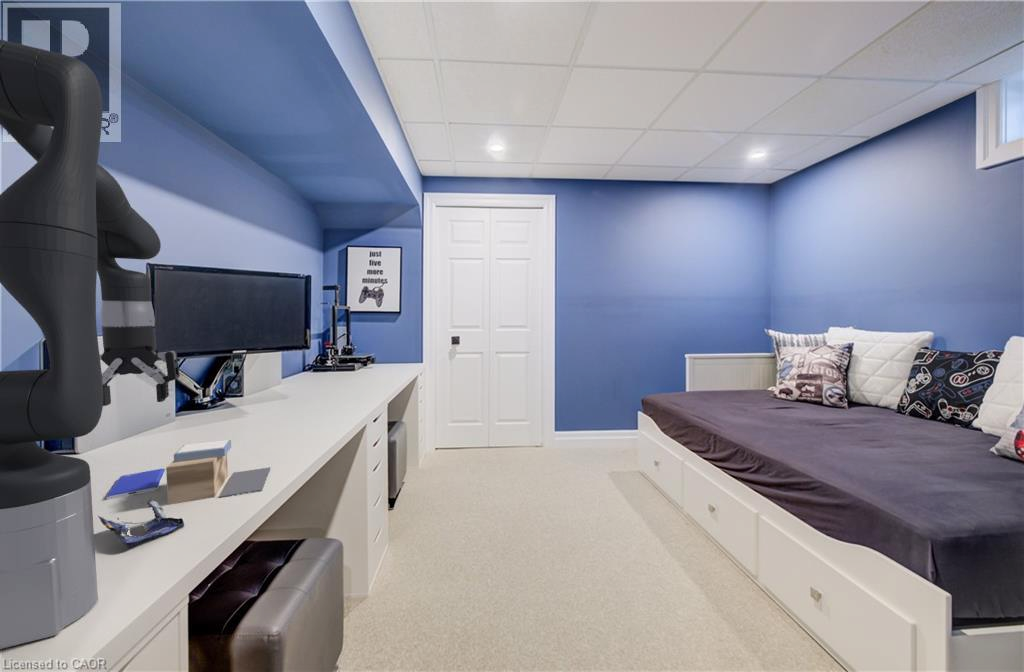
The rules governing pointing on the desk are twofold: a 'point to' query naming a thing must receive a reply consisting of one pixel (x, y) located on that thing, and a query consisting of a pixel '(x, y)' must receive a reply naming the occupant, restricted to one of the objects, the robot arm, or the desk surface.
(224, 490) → the rubber mat
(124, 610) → the desk surface
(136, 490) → the hard drive
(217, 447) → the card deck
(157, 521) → the snack package
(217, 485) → the oak step
